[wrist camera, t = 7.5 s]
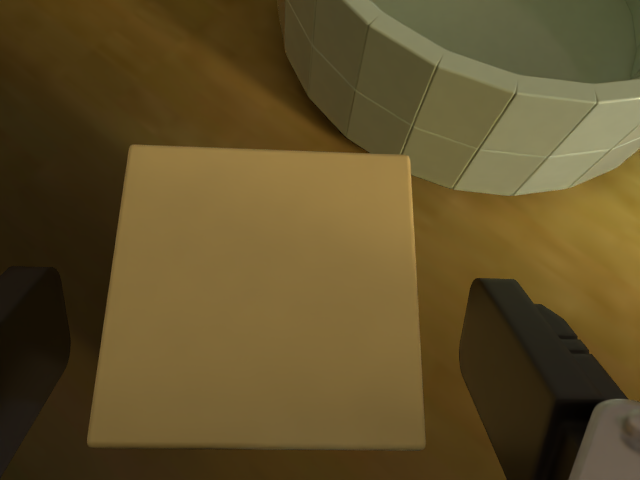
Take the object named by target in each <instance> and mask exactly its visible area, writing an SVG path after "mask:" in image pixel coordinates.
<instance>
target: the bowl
mask: <svg viewBox="0 0 640 480" xmlns="http://www.w3.org/2000/svg"><path fill="white" fill-rule="evenodd" d="M277 5H278V15H279V20H280V26H281V31H282V37H283V43H284V48H285V51H286V55H287V57H288V59H289V61H290V63H291V65H292V67H293V69H294V71H295V73H296V75H297V76H298V78H299V80H300V82H301V84H302V86H303V88H304V90H305V92H306V94H307V96H308V97H309V98H310V99H311V100H312V102H313V103H314V104H315V105H316V106H317V107H318V108H319V109H320V110H321V111H322V112H323V113H324V114H325V116H326V117H327V118H328V119H329V120H330V121H331V122H332V123H333V124H334V125H335V126H336V127H337V128H338V129H339V131H340V132H341V133H342V134H343V135H344V136H345V137H347V138H348V139H349V140H351V141H352V142H354V143H355V144H357V145H358V146H360V147H361V148H363V149H365V150H366V151H368V152H369V153H372V154H398V155H408V156H409V158H410V164H411V175H413V176H416V177H419V178H421V179H424V180H427V181H430V182H433V183H435V184H438V185H441V186H444V187H446V188H449V189H452V188H453V190H460V191H469V192H478V193H487V194H495V195H504V196H511V195H513V196H516V195H523V194H531V193H538V192H546V191H553V190H561V189H567V188H571V187H574V186H576V185H578V184H581V183H583V182H585V181H587V180H590V179H592V178H594V177H597V176H599V175H601V174H604V173H606V172H608V171H611V170H613V169H615V168H616V167H618V166H619V165H621V164H622V163H623V162H624V161H625V160H627V159H628V158H629V157H630V156H631V155H633V154H634V153H635V152H636V151H637V150H639V149H640V0H277Z"/></svg>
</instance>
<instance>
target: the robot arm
mask: <svg viewBox="0 0 640 480" xmlns="http://www.w3.org/2000/svg"><path fill="white" fill-rule="evenodd" d="M70 344H71V342H70V332H69V326H68V320H67V314H66V308H65V302H64V296H63V290H62V284H61V278H60V275H59V273H58V271H57V270H56V269H55V268H54V267H25V266H11V267H9V268H8V269H7V270H6V271H5V272H4V273H3V274H2V275H1V276H0V478H1V476H2V474H3V473H4V471H5V469H6V468H7V466H8V464H9V463H10V461H11V459H12V458H13V456H14V454H15V453H16V451H17V449H18V448H19V446H20V444H21V442H22V441H23V439H24V437H25V436H26V434H27V432H28V431H29V429H30V427H31V426H32V424H33V422H34V421H35V419H36V417H37V416H38V414H39V412H40V411H41V409H42V407H43V405H44V404H45V402H46V400H47V399H48V397H49V395H50V394H51V392H52V390H53V389H54V387H55V385H56V384H57V382H58V380H59V379H60V377H61V375H62V374H63V372H64V370H65V368H66V366H67V363H68V359H69V354H70ZM459 361H460V368H461V373H462V376H463V378H464V381H465V383H466V385H467V388H468V390H469V392H470V395H471V397H472V399H473V401H474V404H475V406H476V408H477V411H478V413H479V415H480V418H481V420H482V422H483V425H484V427H485V429H486V432H487V434H488V436H489V439H490V441H491V443H492V446H493V448H494V450H495V453H496V455H497V457H498V459H499V462H500V464H501V466H502V469H503V471H504V473H505V476H506V478H507V480H640V402H638V401H634V400H629V399H628V398H627V397H626V396H625V395H624V393H623V392H622V391H621V390H620V388H619V387H618V386H617V385H616V383H615V382H614V381H613V380H612V378H611V377H610V376H609V375H608V373H607V372H606V371H605V370H604V368H603V367H602V366H601V365H600V364H599V362H598V361H597V360H596V359H595V357H594V356H593V355H592V354H589V350H588V349H587V347H586V346H585V345H584V344H583V342H582V341H581V340H578V339H577V335H576V334H575V333H574V331H573V330H572V329H571V328H570V326H569V325H568V324H567V323H566V321H565V320H564V319H563V318H561V317H560V316H558V315H557V314H555V313H554V312H552V311H551V310H549V309H548V308H546V307H545V306H543V305H542V304H534V303H533V302H532V301H531V299H530V298H529V297H528V295H527V294H526V293H525V291H524V290H523V289H522V287H521V286H520V285H519V283H518V282H517V281H516V280H514V279H490V278H476V279H475V280H474V281H473V282H472V285H471V288H470V292H469V298H468V303H467V308H466V314H465V319H464V324H463V330H462V335H461V340H460V347H459Z"/></svg>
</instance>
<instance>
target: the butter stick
mask: <svg viewBox="0 0 640 480" xmlns="http://www.w3.org/2000/svg"><path fill="white" fill-rule="evenodd" d="M87 444H88V446H89V447H91V448H133V449H273V450H412V451H420V450H422V449H424V448H425V445H426V434H425V416H424V398H423V380H422V362H421V344H420V326H419V308H418V290H417V272H416V254H415V236H414V218H413V200H412V182H411V164H410V158H409V156H408V155H398V154H372V153H345V152H318V151H292V150H265V149H238V148H212V147H185V146H158V145H131V146H130V147H129V151H128V158H127V165H126V172H125V179H124V185H123V192H122V199H121V206H120V213H119V220H118V227H117V234H116V241H115V248H114V255H113V262H112V269H111V276H110V283H109V290H108V297H107V304H106V311H105V318H104V325H103V331H102V338H101V345H100V352H99V359H98V366H97V373H96V380H95V387H94V394H93V401H92V408H91V415H90V422H89V429H88V436H87Z"/></svg>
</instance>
